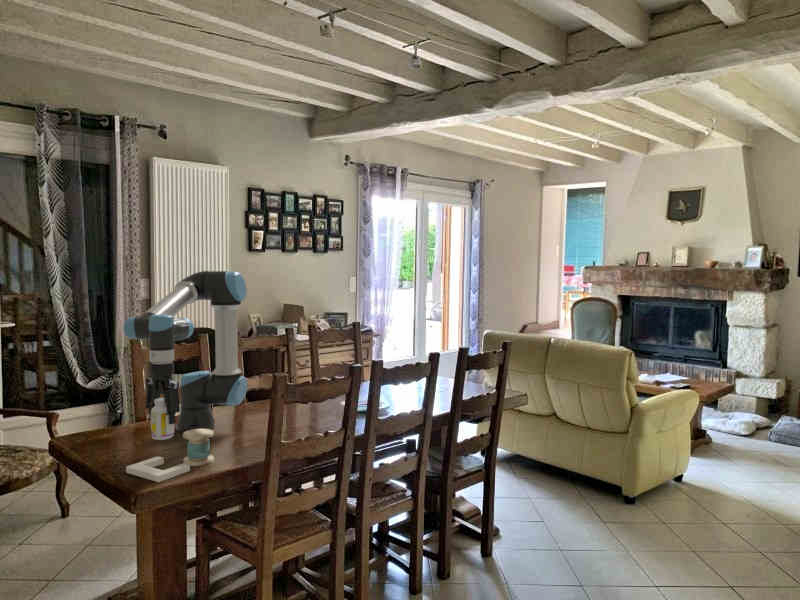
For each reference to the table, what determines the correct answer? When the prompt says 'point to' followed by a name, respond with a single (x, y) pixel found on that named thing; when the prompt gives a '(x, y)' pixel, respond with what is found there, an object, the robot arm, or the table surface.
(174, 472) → the notched board
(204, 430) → the bobbin
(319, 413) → the table surface
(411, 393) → the table surface
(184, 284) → the robot arm
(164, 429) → the supplement bottle
